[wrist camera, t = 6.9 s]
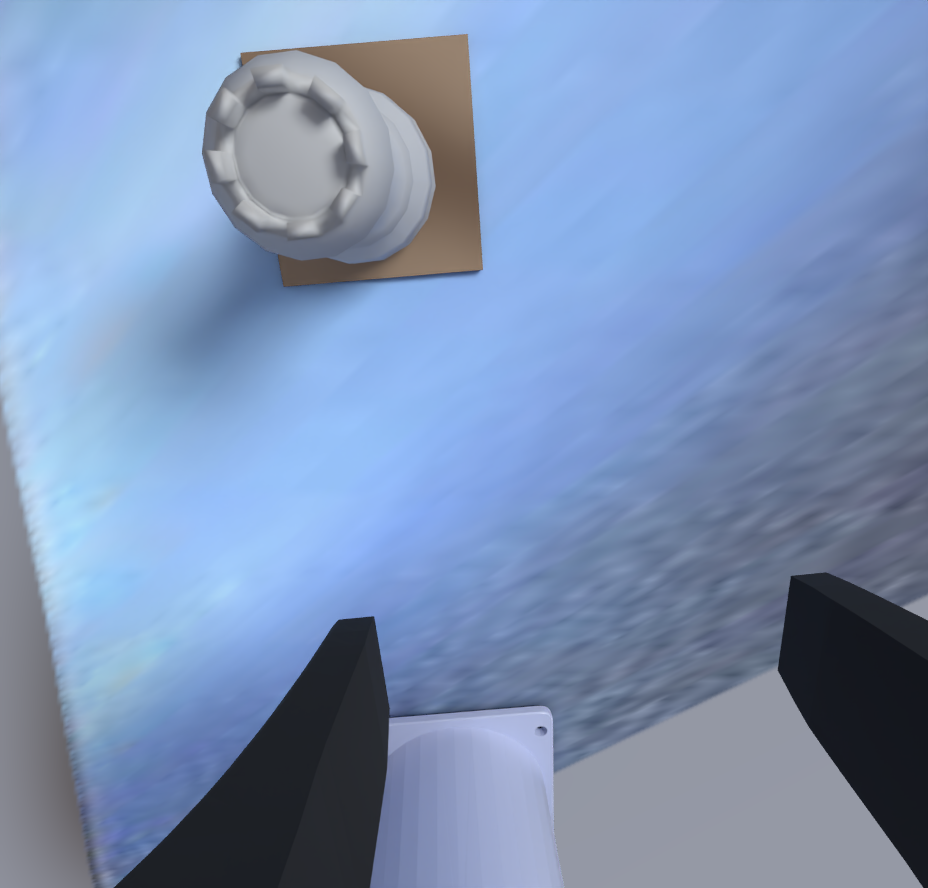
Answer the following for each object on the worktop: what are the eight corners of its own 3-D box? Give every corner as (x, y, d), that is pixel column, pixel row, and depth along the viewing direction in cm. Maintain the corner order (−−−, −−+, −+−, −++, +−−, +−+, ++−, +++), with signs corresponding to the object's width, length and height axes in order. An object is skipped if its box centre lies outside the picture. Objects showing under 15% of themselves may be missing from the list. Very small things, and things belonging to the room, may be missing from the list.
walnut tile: (481, 267, 18) (482, 269, 18) (288, 284, 18) (283, 286, 18) (466, 40, 16) (467, 34, 16) (247, 58, 16) (240, 52, 16)
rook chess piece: (431, 267, 18) (420, 311, 10) (279, 256, 17) (155, 291, 10) (440, 97, 16) (435, 0, 9) (273, 81, 16) (119, -31, 8)
